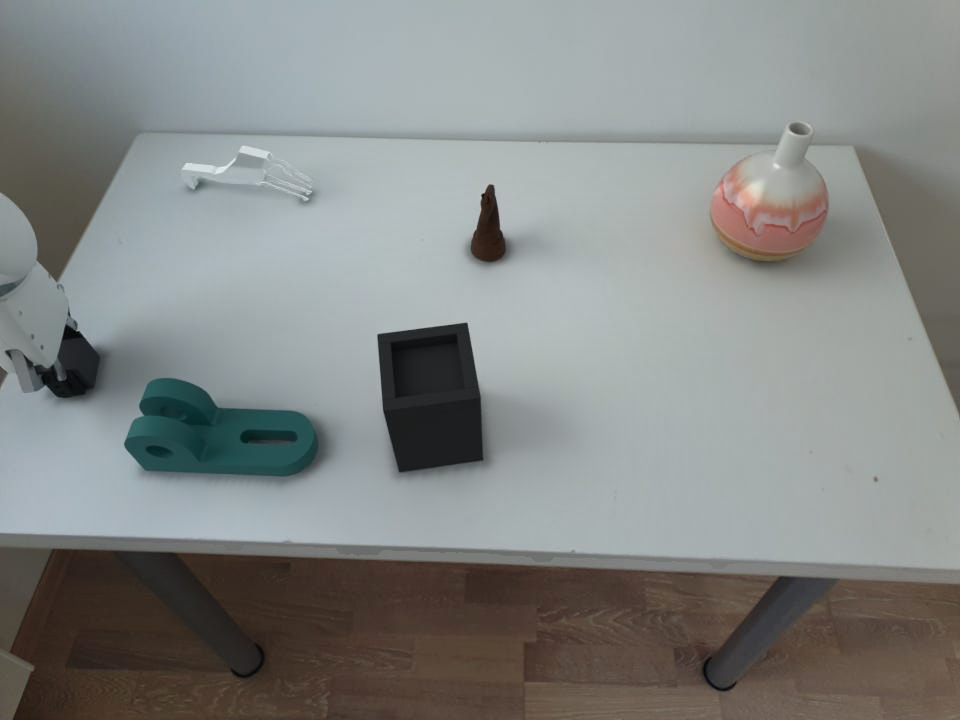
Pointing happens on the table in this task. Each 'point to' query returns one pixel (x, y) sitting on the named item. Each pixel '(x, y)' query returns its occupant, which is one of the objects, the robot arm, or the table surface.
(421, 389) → the black rectangular box
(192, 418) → the bracket
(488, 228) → the chess piece
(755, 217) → the vase
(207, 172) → the llama figurine
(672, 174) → the table surface
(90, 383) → the dark grey cube
